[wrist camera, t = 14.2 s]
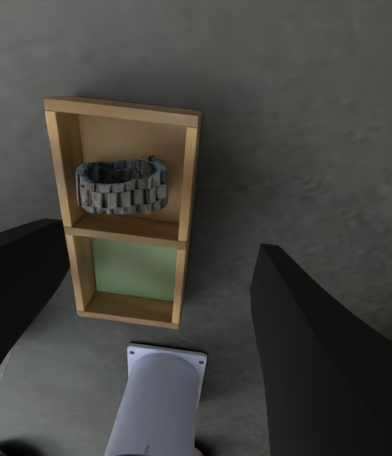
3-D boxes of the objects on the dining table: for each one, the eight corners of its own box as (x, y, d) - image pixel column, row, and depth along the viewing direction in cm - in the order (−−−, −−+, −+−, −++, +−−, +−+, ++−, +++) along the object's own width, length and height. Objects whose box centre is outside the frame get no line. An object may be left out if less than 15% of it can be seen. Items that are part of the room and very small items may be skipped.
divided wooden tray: (183, 302, 24) (178, 329, 21) (93, 290, 24) (77, 315, 21) (202, 110, 16) (199, 115, 13) (70, 95, 16) (41, 97, 14)
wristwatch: (137, 188, 20) (174, 212, 16) (62, 191, 17) (89, 221, 13) (140, 146, 19) (181, 162, 15) (61, 140, 15) (90, 159, 12)
